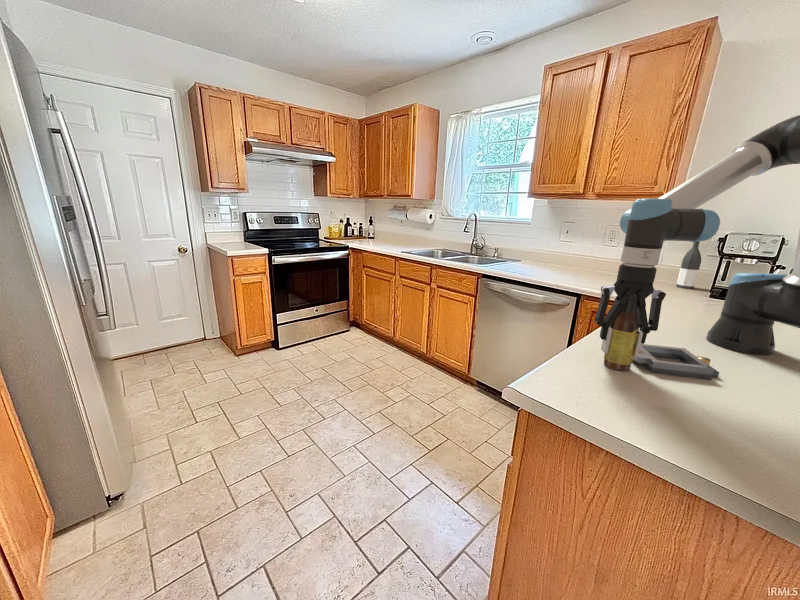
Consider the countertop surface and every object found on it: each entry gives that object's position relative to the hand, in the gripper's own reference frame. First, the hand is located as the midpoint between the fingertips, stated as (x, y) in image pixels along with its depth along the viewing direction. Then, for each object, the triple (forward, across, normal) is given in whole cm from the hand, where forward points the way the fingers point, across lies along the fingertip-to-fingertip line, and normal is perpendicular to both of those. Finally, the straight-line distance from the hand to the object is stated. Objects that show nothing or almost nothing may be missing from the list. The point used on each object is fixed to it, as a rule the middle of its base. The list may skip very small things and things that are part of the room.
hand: (618, 352), depth 87 cm
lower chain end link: (+4, +15, +5) cm, 17 cm away
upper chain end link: (+4, +13, +5) cm, 14 cm away
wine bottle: (+4, +75, +124) cm, 145 cm away
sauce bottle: (+4, 0, 0) cm, 4 cm away
